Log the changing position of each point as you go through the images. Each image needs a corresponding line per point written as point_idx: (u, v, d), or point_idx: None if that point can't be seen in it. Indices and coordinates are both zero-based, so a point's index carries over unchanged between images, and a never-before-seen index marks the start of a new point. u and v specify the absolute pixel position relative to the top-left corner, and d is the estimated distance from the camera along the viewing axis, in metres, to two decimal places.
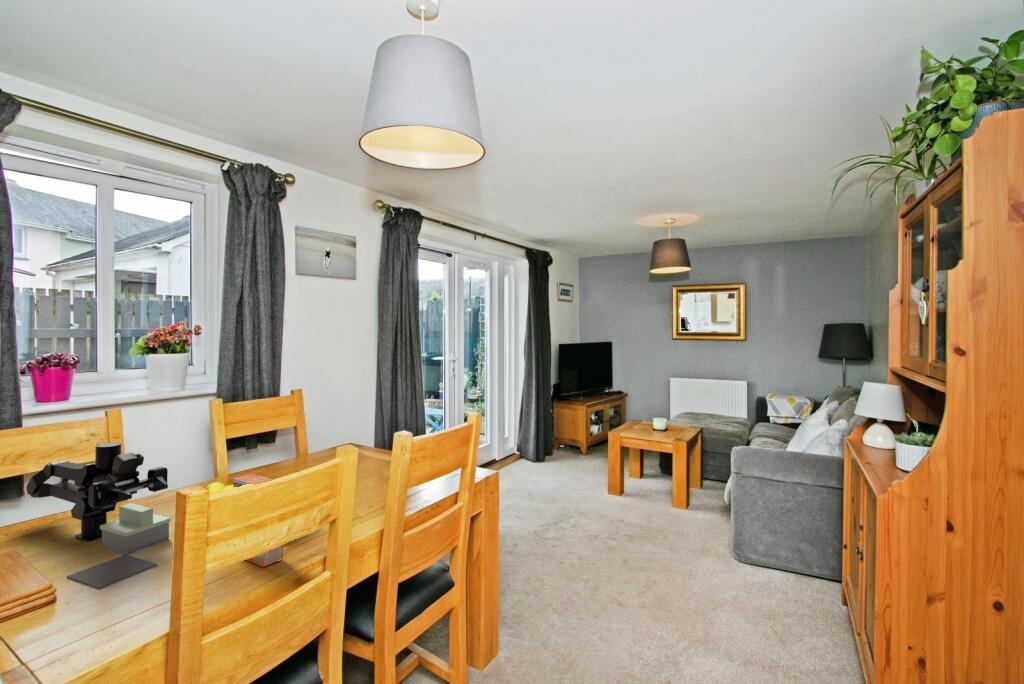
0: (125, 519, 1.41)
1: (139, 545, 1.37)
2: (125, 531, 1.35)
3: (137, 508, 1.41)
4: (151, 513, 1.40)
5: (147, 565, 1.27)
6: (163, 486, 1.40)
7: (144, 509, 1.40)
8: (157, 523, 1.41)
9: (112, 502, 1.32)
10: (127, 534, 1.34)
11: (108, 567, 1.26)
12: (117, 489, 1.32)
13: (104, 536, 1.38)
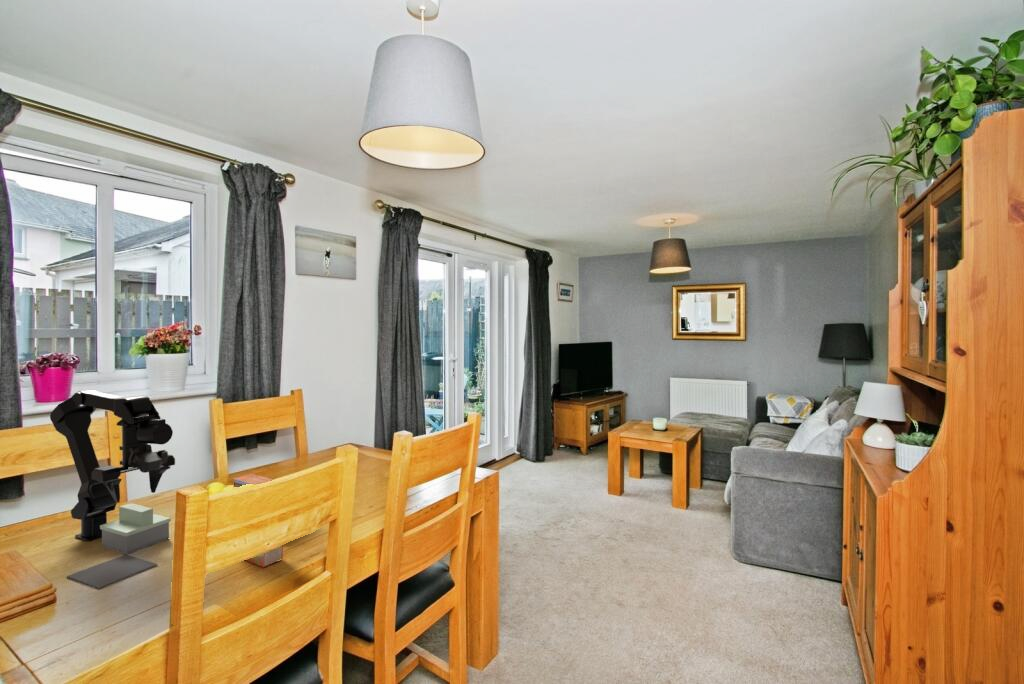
0: (125, 519, 1.41)
1: (139, 545, 1.37)
2: (125, 531, 1.35)
3: (137, 508, 1.41)
4: (151, 513, 1.40)
5: (147, 565, 1.27)
6: (152, 488, 1.45)
7: (144, 509, 1.40)
8: (157, 523, 1.41)
9: (106, 485, 1.36)
10: (127, 534, 1.34)
11: (108, 567, 1.26)
12: (117, 487, 1.35)
13: (104, 536, 1.38)
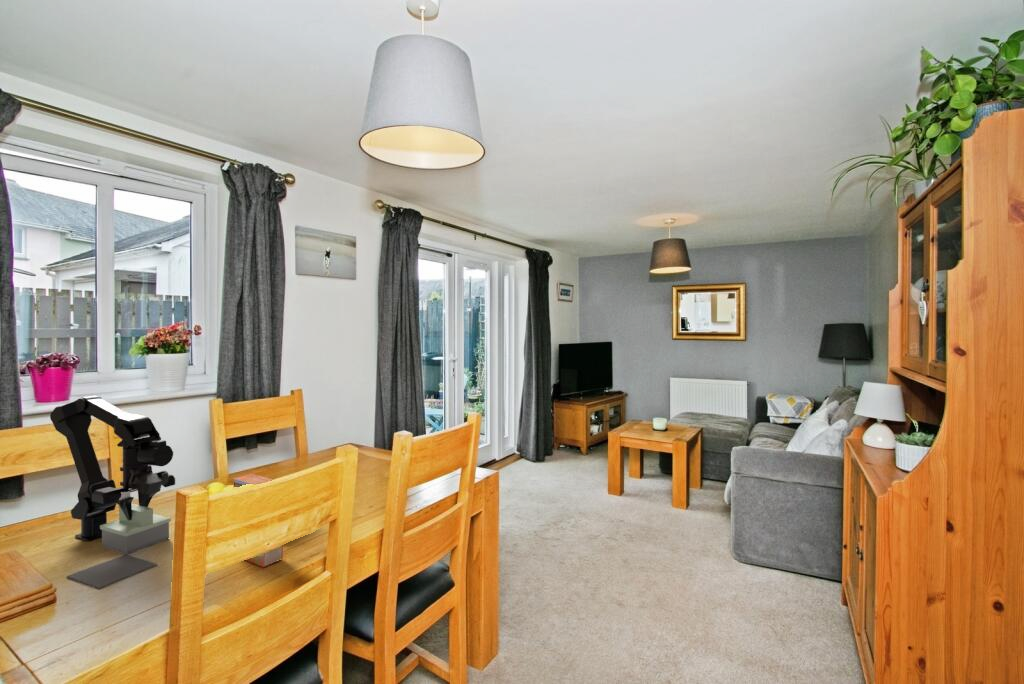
0: (125, 519, 1.41)
1: (139, 545, 1.37)
2: (125, 531, 1.35)
3: (137, 508, 1.41)
4: (151, 513, 1.40)
5: (147, 565, 1.27)
6: None
7: (144, 509, 1.40)
8: (157, 523, 1.41)
9: (118, 503, 1.39)
10: (127, 534, 1.34)
11: (108, 567, 1.26)
12: (129, 506, 1.38)
13: (104, 536, 1.38)
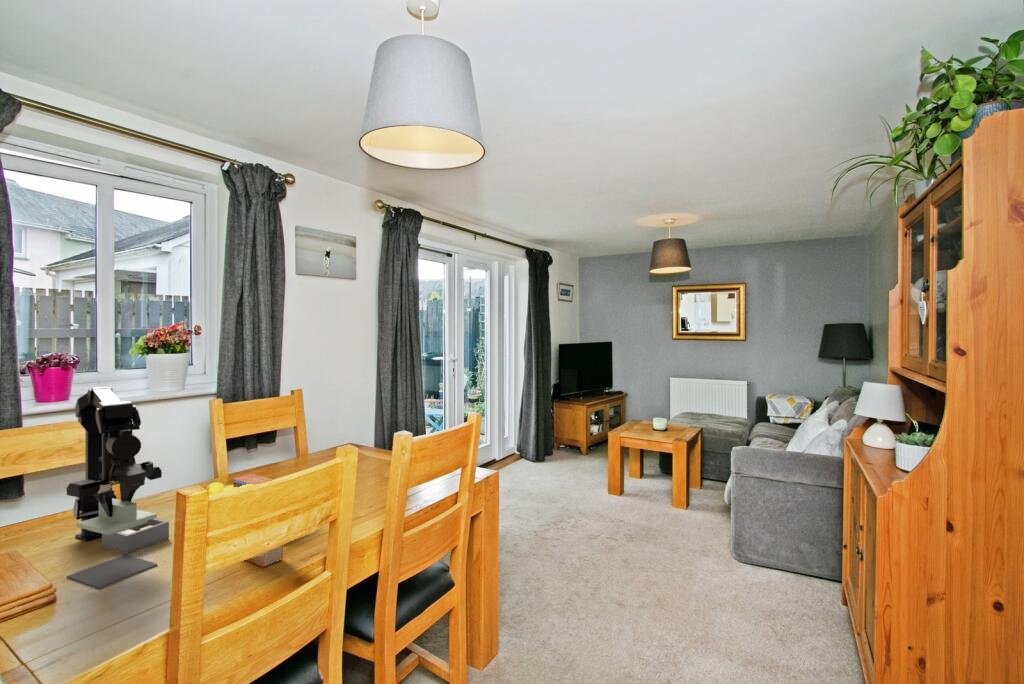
0: (105, 515, 1.26)
1: (139, 545, 1.37)
2: (105, 528, 1.20)
3: (118, 503, 1.26)
4: (134, 508, 1.26)
5: (147, 565, 1.27)
6: None
7: (126, 504, 1.25)
8: (141, 519, 1.27)
9: (97, 498, 1.24)
10: (107, 531, 1.19)
11: (108, 567, 1.26)
12: (109, 500, 1.24)
13: (104, 536, 1.38)
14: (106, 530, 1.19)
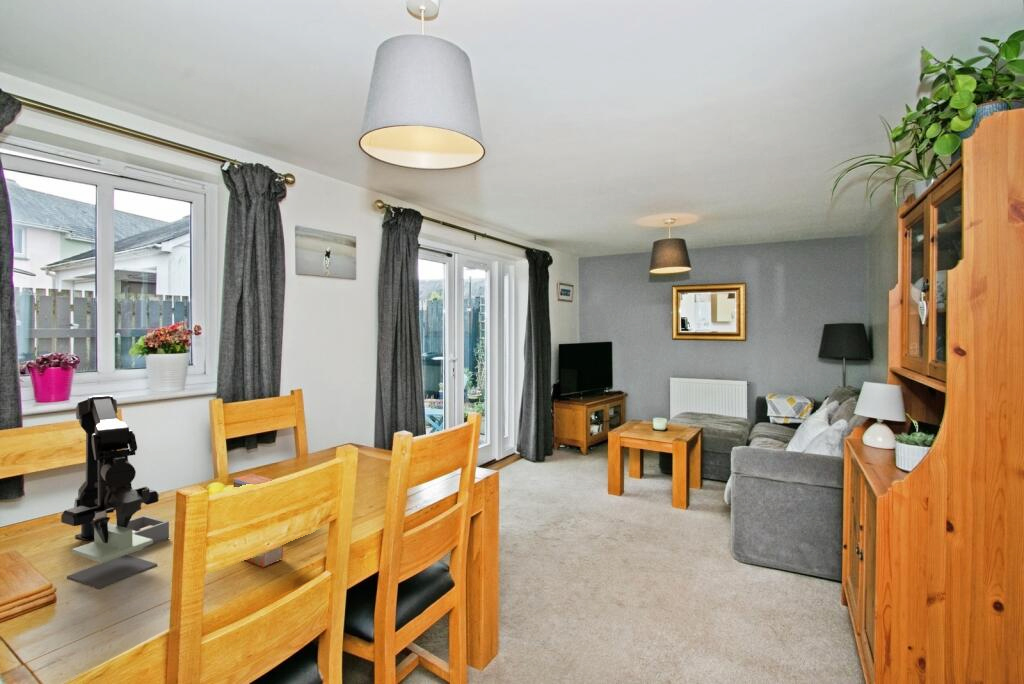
0: (101, 541, 1.24)
1: None
2: (99, 556, 1.18)
3: (114, 529, 1.24)
4: (130, 535, 1.24)
5: (147, 565, 1.27)
6: None
7: (122, 530, 1.24)
8: (137, 546, 1.25)
9: (92, 524, 1.22)
10: (102, 560, 1.18)
11: (108, 567, 1.26)
12: (104, 527, 1.22)
13: None
14: (101, 558, 1.18)
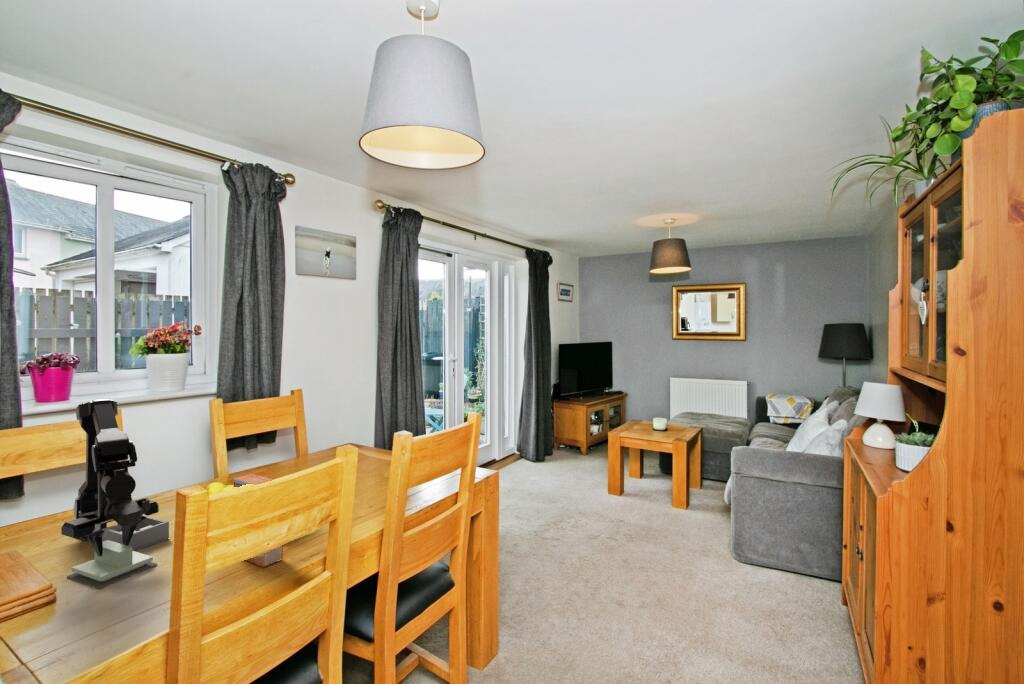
0: (101, 559, 1.24)
1: (139, 545, 1.37)
2: (100, 575, 1.18)
3: (114, 546, 1.24)
4: (130, 552, 1.24)
5: (147, 565, 1.27)
6: (124, 542, 1.27)
7: (122, 548, 1.24)
8: (137, 564, 1.25)
9: (87, 537, 1.21)
10: (102, 579, 1.18)
11: None
12: (99, 540, 1.21)
13: (104, 536, 1.38)
14: (101, 577, 1.18)
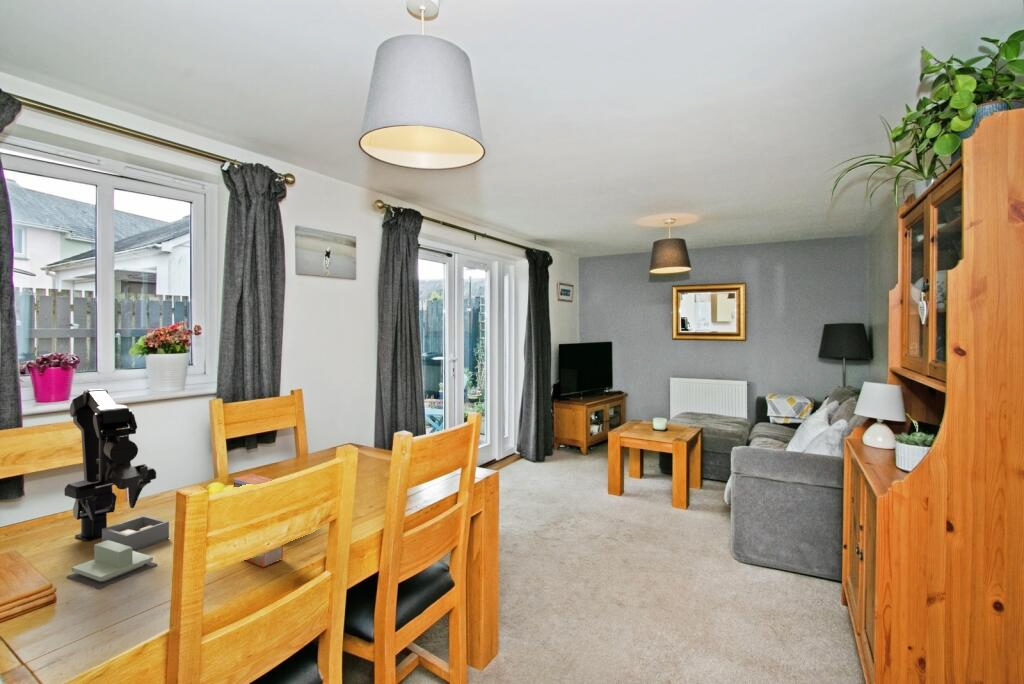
0: (101, 559, 1.24)
1: (139, 545, 1.37)
2: (100, 575, 1.18)
3: (114, 546, 1.24)
4: (130, 552, 1.24)
5: (147, 565, 1.27)
6: (131, 504, 1.37)
7: (122, 548, 1.24)
8: (137, 564, 1.25)
9: (80, 501, 1.28)
10: (102, 579, 1.18)
11: None
12: (91, 504, 1.27)
13: (104, 536, 1.38)
14: (101, 577, 1.18)
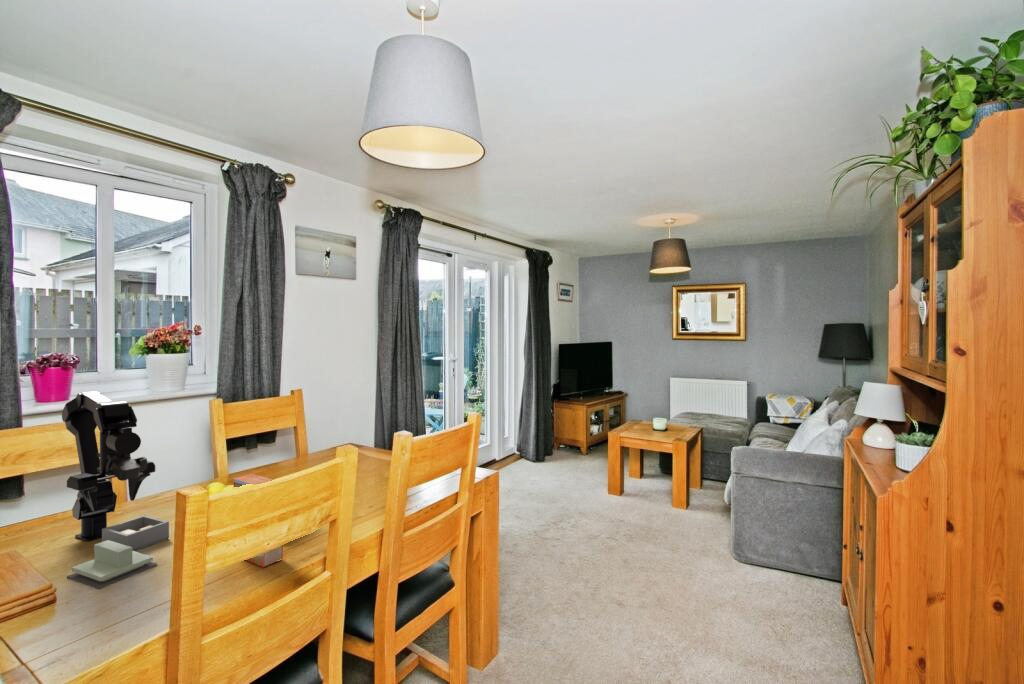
0: (101, 559, 1.24)
1: (139, 545, 1.37)
2: (100, 575, 1.18)
3: (114, 546, 1.24)
4: (130, 552, 1.24)
5: (147, 565, 1.27)
6: (131, 496, 1.41)
7: (122, 548, 1.24)
8: (137, 564, 1.25)
9: (82, 493, 1.32)
10: (102, 579, 1.18)
11: None
12: (93, 496, 1.31)
13: (104, 536, 1.38)
14: (101, 577, 1.18)
